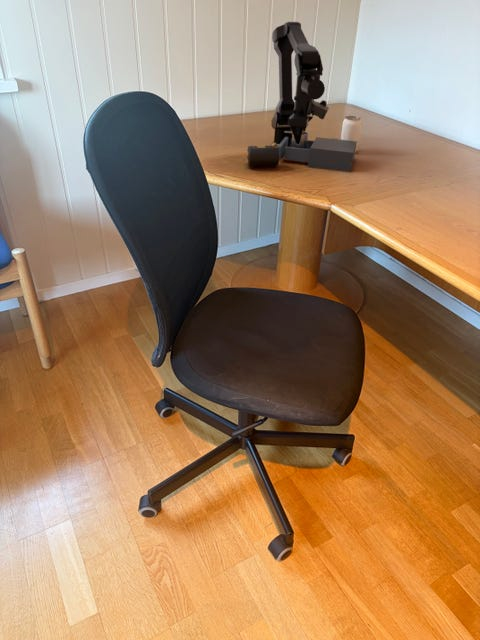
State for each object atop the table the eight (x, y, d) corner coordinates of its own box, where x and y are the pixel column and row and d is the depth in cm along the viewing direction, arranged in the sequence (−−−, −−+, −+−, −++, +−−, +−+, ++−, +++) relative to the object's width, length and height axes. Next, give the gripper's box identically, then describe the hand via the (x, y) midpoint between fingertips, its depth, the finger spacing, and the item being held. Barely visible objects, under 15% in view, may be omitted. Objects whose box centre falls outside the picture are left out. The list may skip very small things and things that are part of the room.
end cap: (249, 171, 163) (250, 150, 159) (245, 164, 169) (246, 144, 165) (278, 170, 165) (280, 150, 161) (274, 163, 170) (275, 143, 166)
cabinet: (308, 166, 169) (310, 147, 165) (314, 155, 179) (316, 137, 176) (350, 171, 166) (353, 152, 162) (353, 159, 176) (356, 141, 173)
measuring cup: (281, 154, 173) (283, 132, 169) (284, 150, 177) (286, 129, 173) (304, 156, 171) (306, 135, 167) (306, 152, 175) (309, 131, 171)
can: (356, 154, 181) (361, 120, 174) (338, 153, 182) (343, 119, 175) (356, 149, 186) (361, 116, 179) (339, 148, 187) (344, 115, 180)
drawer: (266, 159, 172) (267, 145, 169) (274, 148, 182) (275, 135, 179) (314, 164, 168) (316, 150, 165) (320, 153, 178) (321, 140, 175)
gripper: (324, 100, 153) (318, 151, 162) (332, 89, 168) (326, 136, 177) (289, 97, 156) (285, 147, 165) (300, 86, 170) (295, 133, 179)
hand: (299, 141), depth 171 cm, fingers open, 7 cm apart
